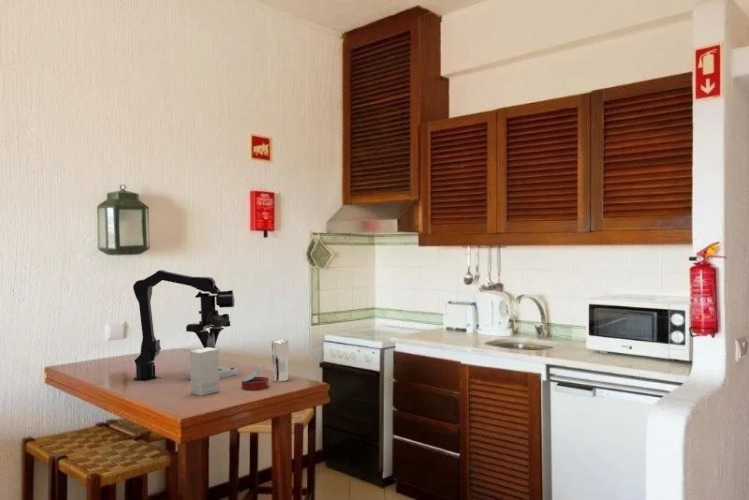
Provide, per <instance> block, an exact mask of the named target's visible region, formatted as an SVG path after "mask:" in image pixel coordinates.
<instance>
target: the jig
mask: <svg viewBox="0 0 749 500" xmlns="http://www.w3.org/2000/svg"><path fill="white" fill-rule="evenodd" d="M238 374H239V370H238V367H231V366H230V367H229V366H221V365H219V380H221V379H224V378H228V377H232V376H235V375H238ZM186 379H188V380H191V372H190V371H187V372H186Z"/></svg>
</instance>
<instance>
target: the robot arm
mask: <svg viewBox="0 0 749 500" xmlns="http://www.w3.org/2000/svg"><path fill="white" fill-rule="evenodd" d="M162 281H164V282H169V283H174V284H179V285H183V286H190V287H192V288H194V289H196V290H198V293H197V294H196V295H195V296H194V298H195V299H196V298H197V299H198V298H200V310H199V311H198V314H200V317H201V318H200V320H199V322H198V323H197V322H196V323H195V322H194V323H188V324H187V325H186V326H185V330H186V331H185V332H188V333H195V335H196V336H197V339H199V341H200V343H201V345H202V347H203V348H206V345H207V333H208V332H214V333H215V346H216V344H217V341H218V339H219V336H220V333H221V332H222V330H224V329H225V328H227V327H231V321H230V315H229V314H228V313H223V314H219V311H218V309H217V310H216V306H217V307H218V308H220V309H221V308H234V307H235V297H234V291H233V289H232V290H231V289H230V290H220V289H219V287H218V286H217V285H216V281H215V280H214V278H213V277H210V276H191V275H186V274H181V273H176V272H170V271H167V270H164V269H160V270H157V271H155V272H154V273H153V274H151V275H150V276H147V277H145V278H144V279H140V280H137V281H135V282H134V283H133V285H132V288H133V292H134V295H135V298H136V300H137V302H138V307H139V314H140V323H141V324H140V325H141V336H142V341H141V343H140V345H141V346H140V354H139V355H138V356H137V357H136V358H135V359H134V363H135V377H133V380H138V381H147V380H152V379H157V378H158V376H157V375H156V365H155V359H156V357H158V356H159V355H160V353H161V352H160V351H161V350H162V348H161V340H160V339H156V337H155V331H154V322H153V315H152V314H153V313H152V304H151V303H152V302H151V300H152V296H153V287H155V286H157V285H158V284H159V283H160V282H161V283H162ZM207 329H209V330H207Z"/></svg>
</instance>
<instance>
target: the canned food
mask: <svg viewBox="0 0 749 500" xmlns="http://www.w3.org/2000/svg"><path fill="white" fill-rule="evenodd" d="M265 367H266V365H263V366H262V367H260V368H259V369H256V370H255V371H254V372H252V373H250V374H248V375H247V376H246V377H244V378H243V379H242V380H241V389H242V390H244V391H262V389H263V390H266V389H268V388H270V387H269V386H270V381H269V378H268V377H266V376H258V375H260V373H261V372H262V370H263V369H264V368H265Z"/></svg>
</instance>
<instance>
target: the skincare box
mask: <svg viewBox="0 0 749 500" xmlns="http://www.w3.org/2000/svg"><path fill="white" fill-rule="evenodd" d="M219 350H220V349H219V348H216V347H215V348H210V347H207V348H204V347H203V348H198V349H197V348H196V349H193V350H189V360H190V366H189V367H190V369H189V372H191V379H190V394H191V395H196V396H199V397H202V396H206V395H210V394H214V393H217V392H218V393H219V392H220V379H219V366H220V364H219V363H220V361H219V359H220V358H219Z"/></svg>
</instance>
